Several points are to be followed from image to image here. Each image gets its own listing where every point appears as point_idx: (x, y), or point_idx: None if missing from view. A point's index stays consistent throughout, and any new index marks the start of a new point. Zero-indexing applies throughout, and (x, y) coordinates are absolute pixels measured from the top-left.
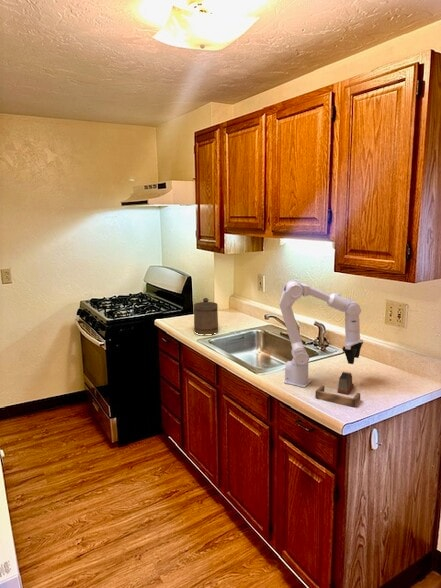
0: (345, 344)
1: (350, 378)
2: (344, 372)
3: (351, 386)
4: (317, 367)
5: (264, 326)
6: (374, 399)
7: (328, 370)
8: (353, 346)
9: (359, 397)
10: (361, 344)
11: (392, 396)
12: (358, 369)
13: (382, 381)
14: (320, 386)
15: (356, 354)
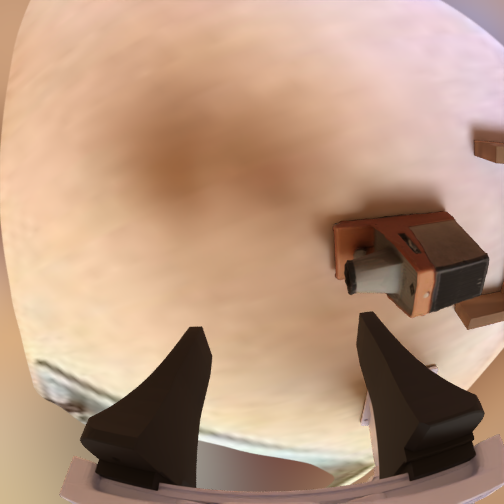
0: (480, 498)
1: (425, 249)
2: (427, 305)
3: (394, 223)
4: (214, 404)
5: None
6: (427, 78)
7: (212, 372)
8: (189, 442)
9: (497, 144)
10: (147, 427)
11: (330, 6)
12: (103, 282)
13: (153, 122)
14: (482, 325)
15: (198, 361)
